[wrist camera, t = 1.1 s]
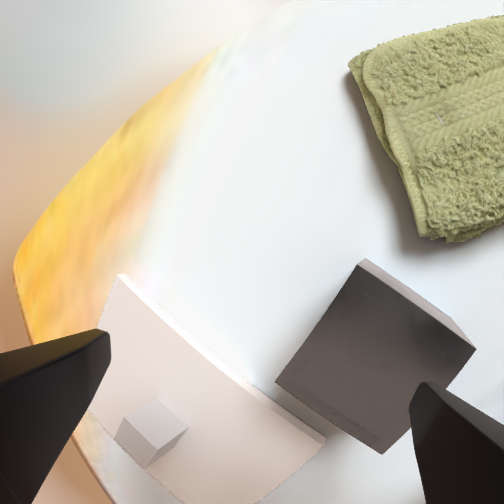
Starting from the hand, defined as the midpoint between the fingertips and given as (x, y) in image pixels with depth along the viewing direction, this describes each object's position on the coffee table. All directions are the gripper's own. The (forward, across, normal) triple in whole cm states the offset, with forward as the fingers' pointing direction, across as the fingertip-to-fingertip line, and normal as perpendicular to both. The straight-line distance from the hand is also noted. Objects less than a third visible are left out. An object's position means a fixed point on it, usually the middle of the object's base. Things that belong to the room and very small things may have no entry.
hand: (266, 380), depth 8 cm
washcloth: (+10, -13, -12) cm, 20 cm away
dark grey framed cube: (+9, -7, +3) cm, 12 cm away
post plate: (+12, +6, +15) cm, 20 cm away
